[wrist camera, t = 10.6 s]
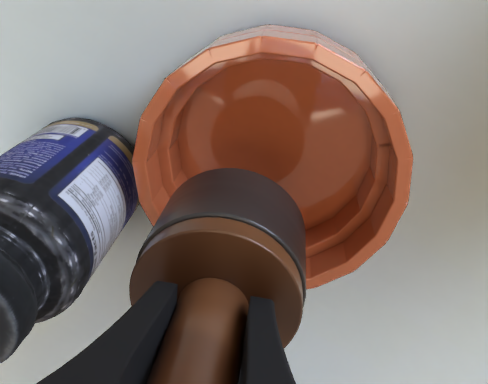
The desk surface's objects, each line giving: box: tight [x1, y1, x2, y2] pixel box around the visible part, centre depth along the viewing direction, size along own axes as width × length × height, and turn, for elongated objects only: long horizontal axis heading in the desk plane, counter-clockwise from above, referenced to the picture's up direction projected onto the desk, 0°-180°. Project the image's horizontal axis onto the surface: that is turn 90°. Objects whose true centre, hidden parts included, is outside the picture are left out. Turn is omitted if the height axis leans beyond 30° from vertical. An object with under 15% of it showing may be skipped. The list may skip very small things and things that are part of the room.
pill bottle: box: [0, 118, 140, 363], centre depth 19 cm, size 6×6×11 cm
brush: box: [129, 168, 306, 384], centre depth 14 cm, size 6×6×9 cm
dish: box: [132, 24, 413, 289], centre depth 20 cm, size 11×11×4 cm
